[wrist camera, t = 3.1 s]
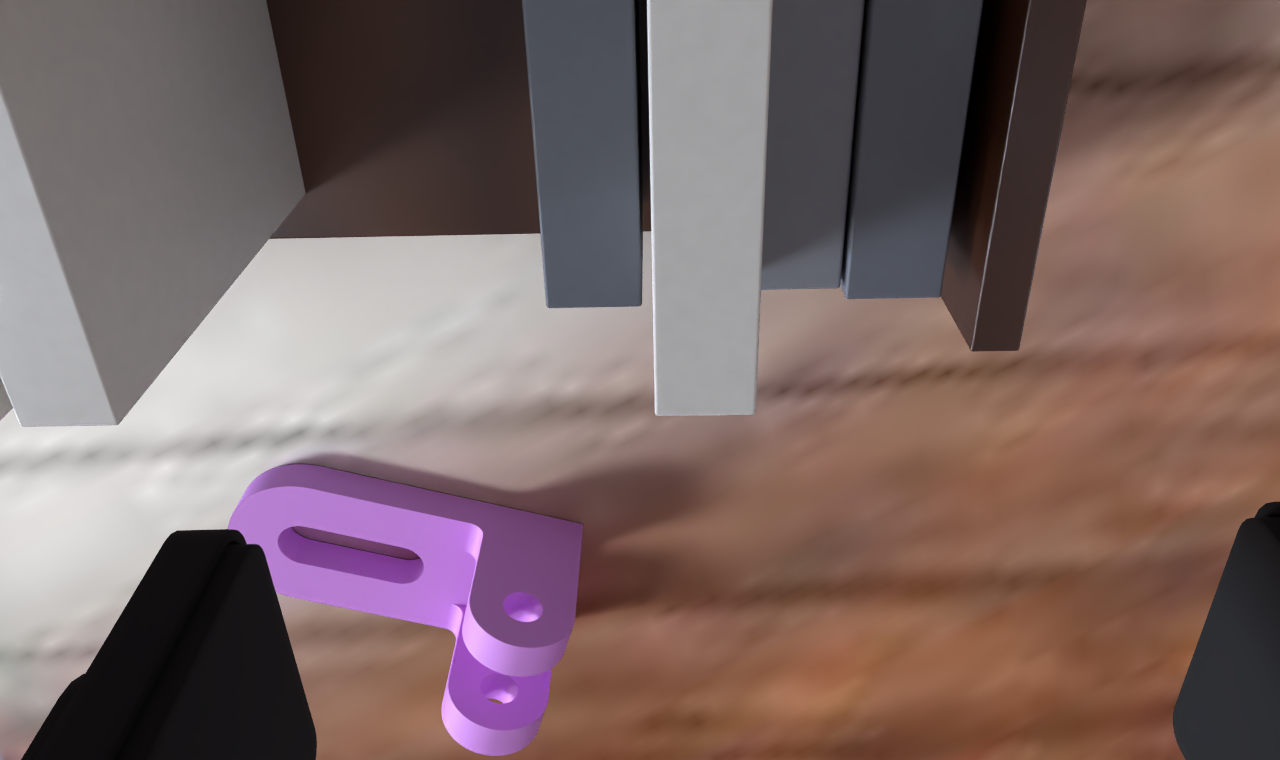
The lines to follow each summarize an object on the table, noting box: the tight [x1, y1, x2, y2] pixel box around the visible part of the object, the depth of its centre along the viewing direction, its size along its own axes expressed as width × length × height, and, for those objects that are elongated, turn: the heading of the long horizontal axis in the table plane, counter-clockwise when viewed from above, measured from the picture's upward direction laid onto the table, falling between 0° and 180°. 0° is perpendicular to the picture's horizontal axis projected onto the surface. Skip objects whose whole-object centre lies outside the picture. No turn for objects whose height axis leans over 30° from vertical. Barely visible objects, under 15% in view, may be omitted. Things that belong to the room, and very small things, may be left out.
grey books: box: [522, 0, 983, 308], centre depth 26 cm, size 10×9×7 cm
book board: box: [266, 0, 1086, 351], centre depth 26 cm, size 26×11×9 cm, turn 91°
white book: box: [647, 0, 773, 416], centre depth 24 cm, size 2×8×13 cm, turn 2°
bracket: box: [228, 464, 583, 756], centre depth 37 cm, size 13×6×7 cm, turn 74°
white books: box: [0, 0, 305, 427], centre depth 24 cm, size 4×8×13 cm, turn 1°
